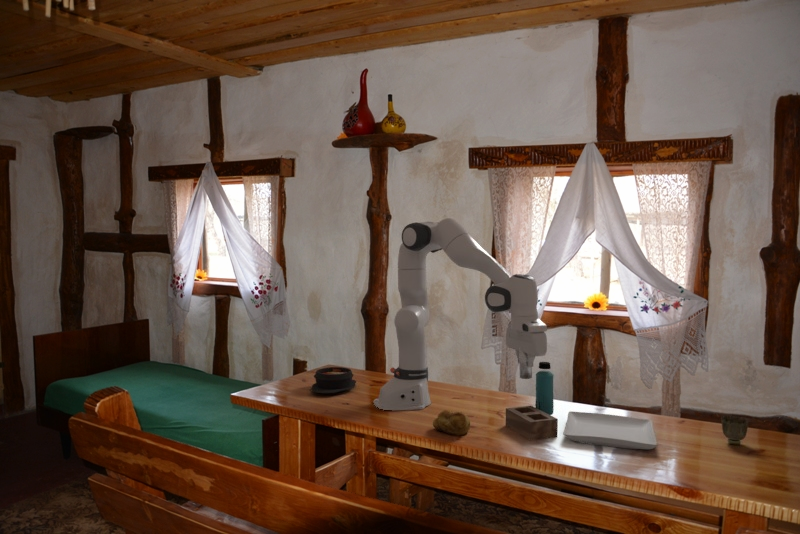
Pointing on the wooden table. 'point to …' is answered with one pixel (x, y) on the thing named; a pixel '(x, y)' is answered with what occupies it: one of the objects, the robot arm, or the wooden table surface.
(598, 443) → the square plate
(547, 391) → the beverage bottle
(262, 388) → the wooden table surface
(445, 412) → the bread roll
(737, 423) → the cup
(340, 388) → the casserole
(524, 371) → the steel pin
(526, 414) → the socket block
